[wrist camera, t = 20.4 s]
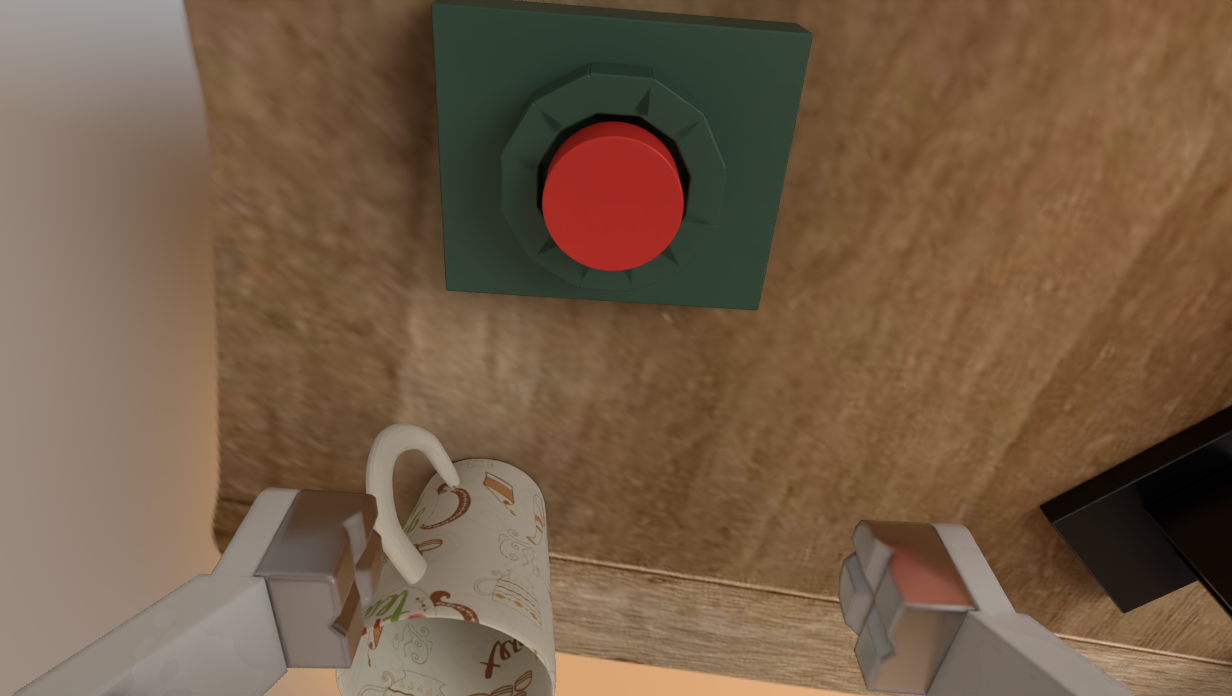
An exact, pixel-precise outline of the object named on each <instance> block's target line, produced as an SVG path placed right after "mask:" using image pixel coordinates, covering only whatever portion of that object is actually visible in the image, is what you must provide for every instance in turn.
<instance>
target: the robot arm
mask: <svg viewBox="0 0 1232 696" xmlns="http://www.w3.org/2000/svg"><path fill="white" fill-rule="evenodd" d="M377 517H378V508H377V502H376V497H375V496H373V495H372V494H361V493H348V492H335V491H322V490H309V489H303V490H298V489H286V488H274V487H268V488H266V489H265V490H264V491H262V492H261V493H260V494H259V495H258V496H257V498H256V500H255V501H254V503H253V505H252V506H251V508H250V510H249V512H248V513H247V515H246V517H245V518H244V520H243V522H242V523H241V525H240V527H239V528H238V530H237V532H236V533H235V535H234V537H233V538H232V540H231V542H230V543H229V545H228V547H227V548H226V550H225V552H224V553H223V555H222V557H221V558H220V560H219V562H218V563H217V565H216V567H215V569H214V570H213V572H212V574H199V575H198V576H196V577H195V578H193V579H192V580H190V581H188V582H187V583H185V584H184V585H182V586H181V587H179V588H177V589H176V590H174V591H173V592H171V593H170V594H168V595H167V596H165V597H163V598H162V599H160V600H159V601H157V602H156V603H154V604H152V605H151V606H149V607H148V608H146V609H145V610H143V611H142V612H140V613H138V614H137V615H135V616H134V617H132V618H131V619H129V620H128V621H126V622H124V623H123V624H121V625H120V626H118V627H117V628H115V629H113V630H112V631H110V632H109V633H107V634H106V635H104V636H102V637H101V638H99V639H98V640H96V641H95V642H93V643H92V644H90V645H88V646H87V647H85V648H84V649H82V650H81V651H79V652H77V653H76V654H74V655H73V656H71V657H70V658H68V659H67V660H65V661H63V662H62V663H60V664H59V665H57V666H56V667H54V668H52V669H51V670H49V671H48V672H46V673H45V674H43V675H42V676H40V677H38V678H37V679H35V680H34V681H32V682H31V683H29V684H27V685H26V686H24V687H23V688H21V689H20V690H18V691H17V692H15V693H14V694H13V696H263V695H264V694H265V693H266V692H267V691H268V690H269V689H270V688H271V687H272V686H273V685H274V684H275V683H276V682H277V681H278V680H279V679H280V678H281V677H282V676H283V675H284V674H285V673H287V668H337V669H350V668H351V665H352V662H353V659H354V656H355V654H356V651H357V648H358V645H359V642H360V639H361V636H362V633H363V630H364V628H365V627H364V620H363V613H362V610H363V609H364V608H366V607H367V606H368V605H369V604H370V603H372V602H373V601H374V598H375V595H376V592H377V589H378V585H379V581H380V575H381V569H382V562H383V546H382V537H381V535H380V534H379V533H378V532H377V531H375V530H374V529H373V528H374V525H375V522H376V520H377ZM851 540H852V542H853V545H854V548H855V552H854V553H852V554H851V555H850V556H848V557H847V558H846V559H844V561H843V564H842V568H841V571H840V575H839V593H838V594H839V600H840V607H841V611H842V614H843V617H844V621H845V623H846V624H847V625H848V626H849V627H850V628H851V629H852V630H853V631H854V632H855V633H856V634H857V635H858V636H859V637H858V640H857V642H856V645H855V648H854V652H855V655H856V658H857V661H858V664H859V667H860V670H861V673H862V676H863V679H864V682H865V685H866V688H867V691H876V692H890V693H904V694H918V695H927V696H1136V695H1135V694H1133V693H1132V692H1131V691H1129V690H1128V689H1127V688H1125V687H1124V686H1123V685H1121V684H1120V683H1119V682H1117V681H1116V680H1115V679H1113V678H1112V677H1111V676H1109V675H1108V674H1106V673H1105V672H1104V671H1102V670H1101V669H1100V668H1098V667H1097V666H1096V665H1094V664H1093V663H1092V662H1090V661H1089V660H1088V659H1086V658H1085V657H1084V656H1082V655H1081V654H1080V653H1078V652H1077V651H1076V650H1074V649H1073V648H1072V647H1070V646H1069V645H1068V644H1066V643H1065V642H1064V641H1062V640H1061V639H1060V638H1058V637H1057V636H1056V635H1054V634H1053V633H1052V632H1050V631H1049V630H1048V629H1046V628H1045V627H1043V626H1042V625H1041V624H1039V623H1038V622H1037V621H1035V620H1034V619H1033V618H1031V617H1030V616H1029V615H1027V614H1021V613H1016V612H1015V610H1014V608H1013V606H1012V605H1011V603H1010V601H1009V600H1008V598H1007V596H1006V594H1005V593H1004V591H1003V589H1002V587H1001V586H1000V584H999V582H998V580H997V579H996V577H995V575H994V573H993V572H992V570H991V568H990V566H989V565H988V563H987V561H986V560H985V558H984V556H983V554H982V553H981V551H980V549H979V547H978V546H977V544H976V542H975V540H974V539H973V537H972V535H971V533H970V532H969V530H968V529H967V528H966V527H964V526H963V525H962V524H948V523H919V522H896V521H873V520H861V521H860V522H859V523H858V524H857V525H856V526H855V529H854V532H853V535H852V537H851Z"/></svg>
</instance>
